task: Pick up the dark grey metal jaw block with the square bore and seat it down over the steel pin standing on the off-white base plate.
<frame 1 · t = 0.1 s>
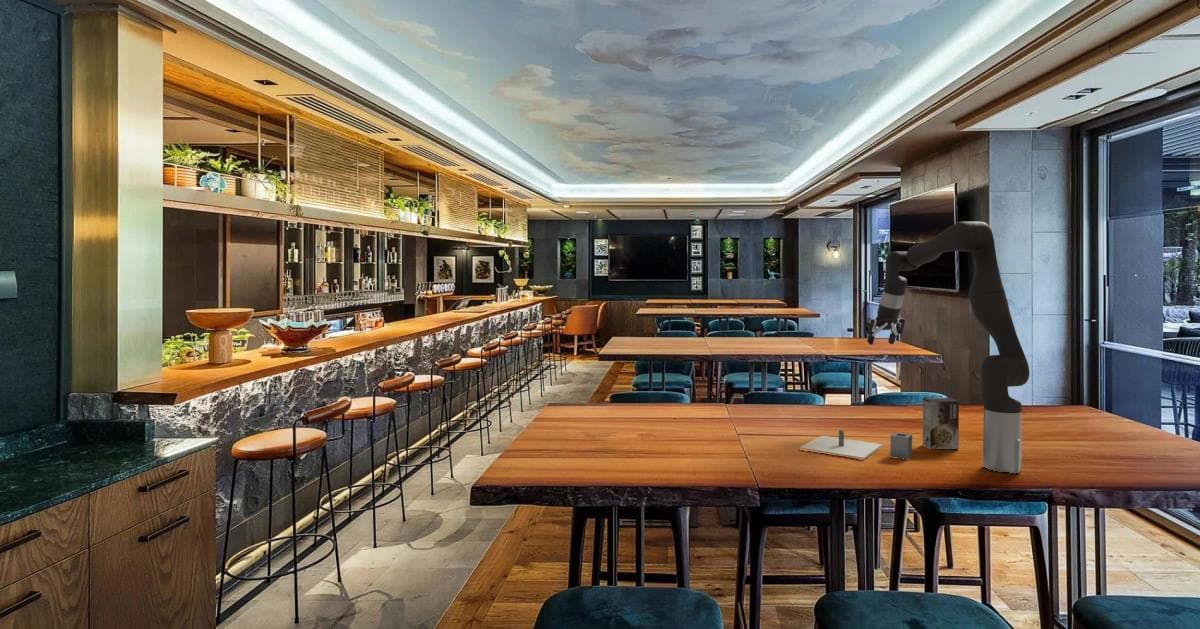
hand: (880, 343, 237), 31 cm above the table, tool tilted 20°, fingers open, 8 cm apart
jaw block: (901, 457, 197), on the table
coffee box: (940, 448, 208), on the table
pin plate: (841, 448, 207), on the table
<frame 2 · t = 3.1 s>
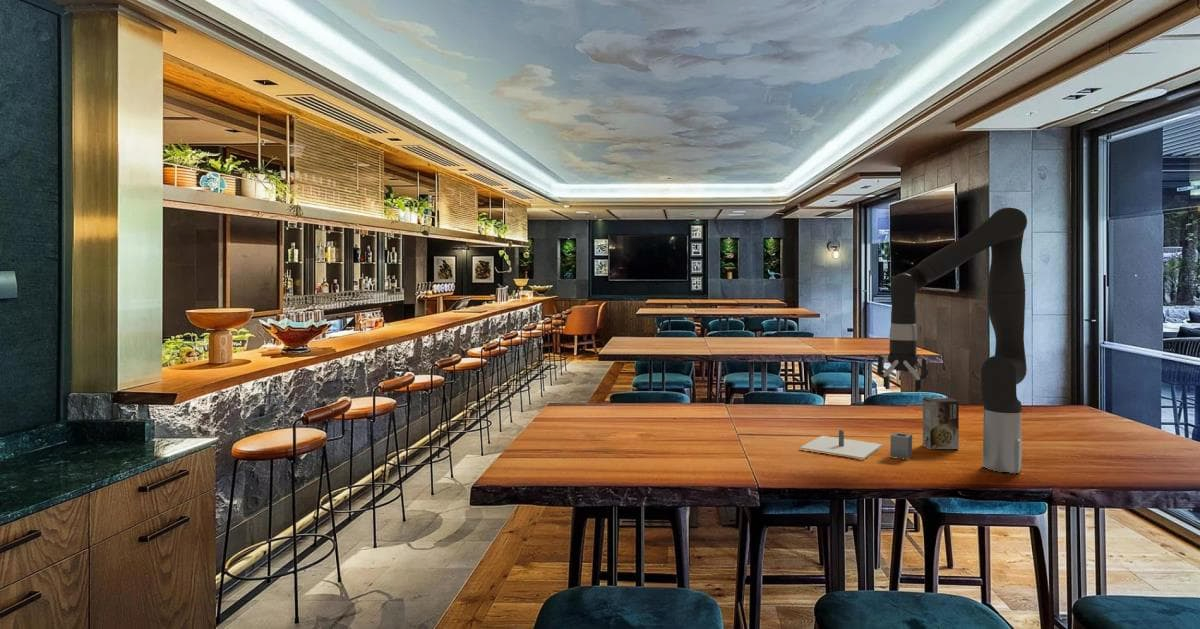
hand: (902, 390, 196), 21 cm above the table, tool pointing down, fingers open, 8 cm apart
nothing on the table moved.
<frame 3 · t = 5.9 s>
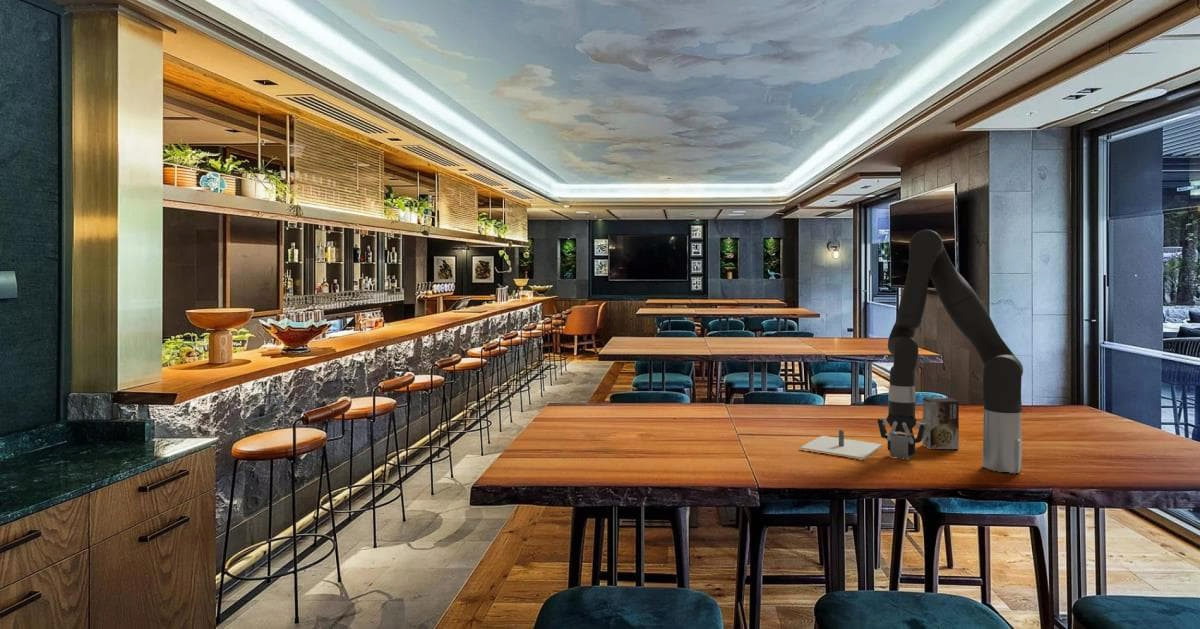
hand: (901, 453, 197), 1 cm above the table, tool pointing down, fingers closed on jaw block, 5 cm apart
jaw block: (901, 457, 197), on the table, touching gripper
everything else where it was.
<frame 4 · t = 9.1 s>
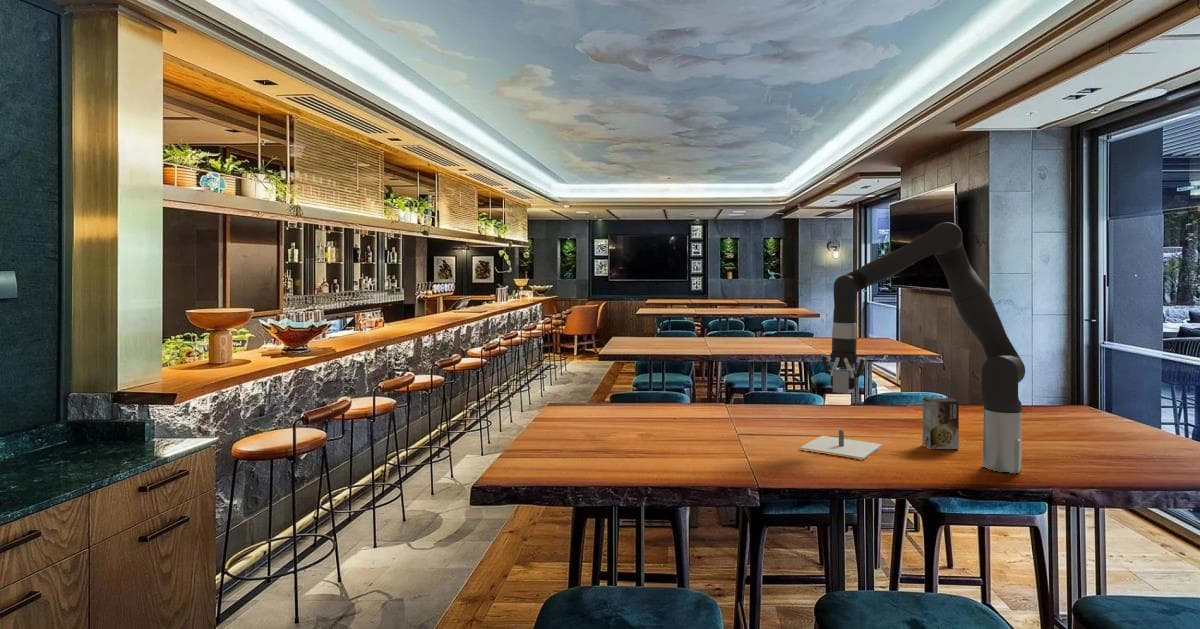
hand: (843, 388, 206), 20 cm above the table, tool pointing down, fingers closed on jaw block, 5 cm apart
jaw block: (843, 391, 206), point 19 cm above the table, touching gripper
everything else where it was.
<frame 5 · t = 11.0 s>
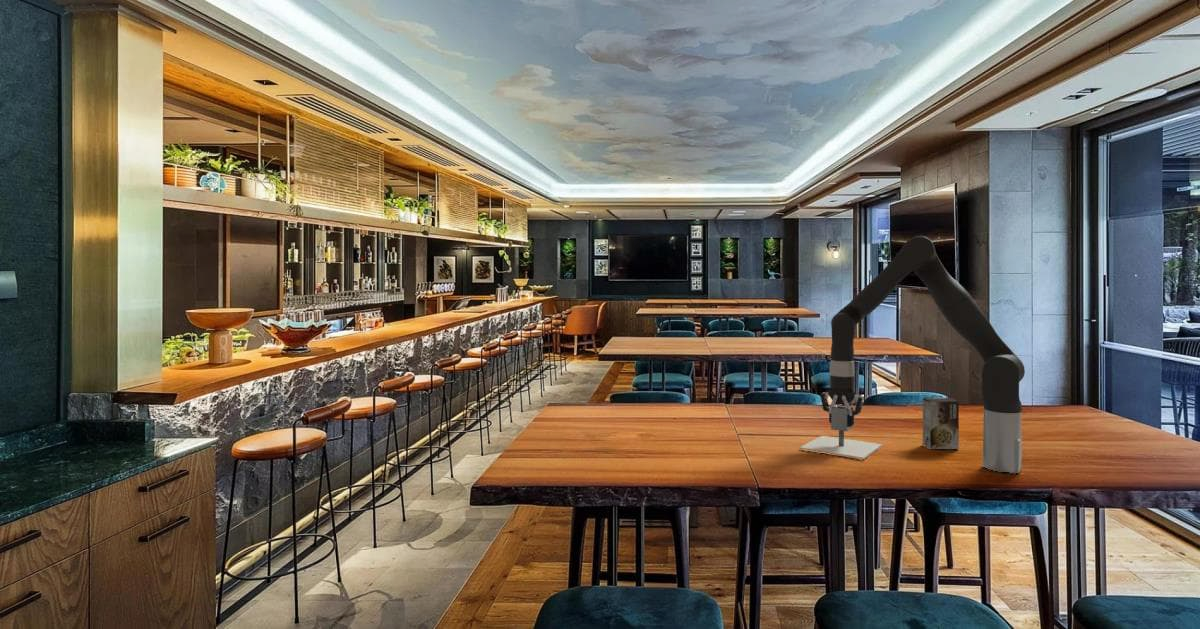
hand: (841, 425, 207), 8 cm above the table, tool pointing down, fingers closed on jaw block, 5 cm apart
jaw block: (841, 428, 207), point 7 cm above the table, touching gripper
everything else where it was.
when the fingers open (4 cm above the table, at t = 12.6 s): jaw block drops 1 cm, resting on pin plate.
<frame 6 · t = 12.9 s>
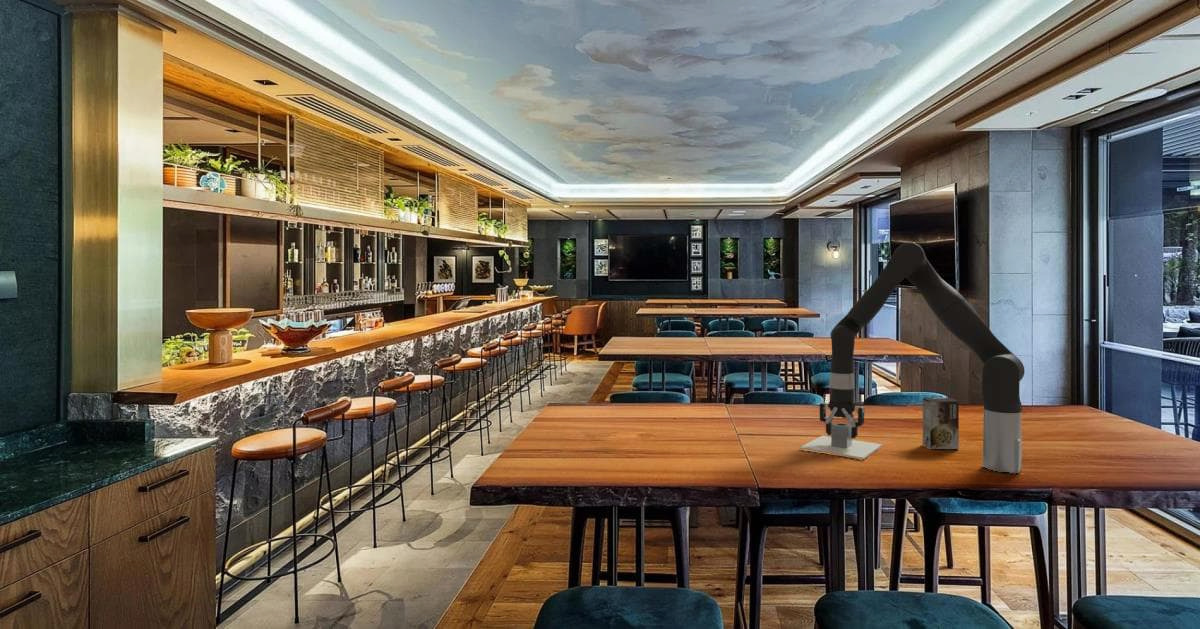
hand: (841, 436, 207), 4 cm above the table, tool pointing down, fingers open, 7 cm apart
jaw block: (841, 445, 207), point 1 cm above the table, touching pin plate
everything else where it was.
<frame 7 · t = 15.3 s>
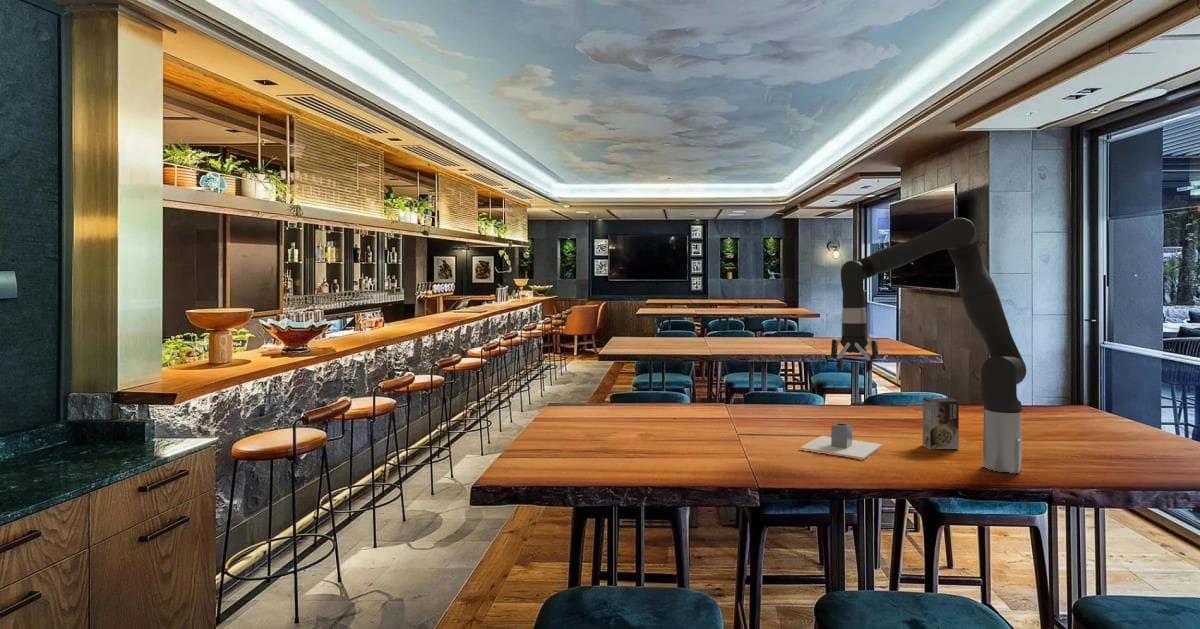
hand: (854, 371, 207), 25 cm above the table, tool pointing down, fingers open, 8 cm apart
nothing on the table moved.
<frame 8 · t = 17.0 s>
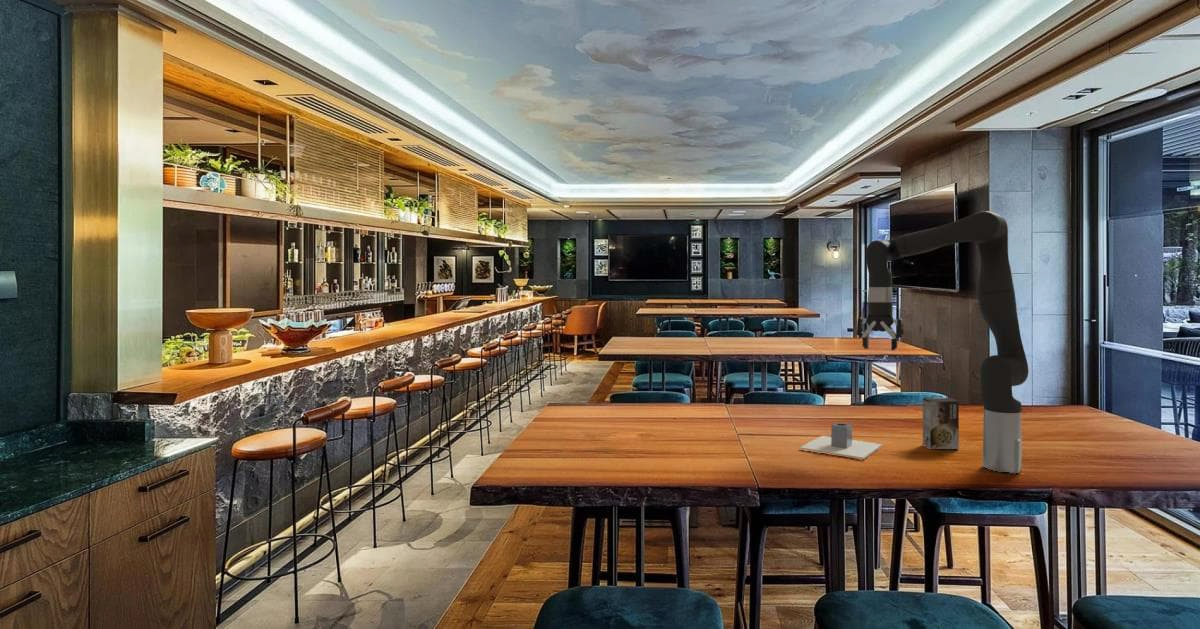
hand: (879, 349, 211), 32 cm above the table, tool pointing down, fingers open, 8 cm apart
nothing on the table moved.
at the end: jaw block 0.1 cm off-centre on the pin plate, point 1.0 cm above the pin plate's base; jaw block tilted 0°; the gripper is holding nothing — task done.
